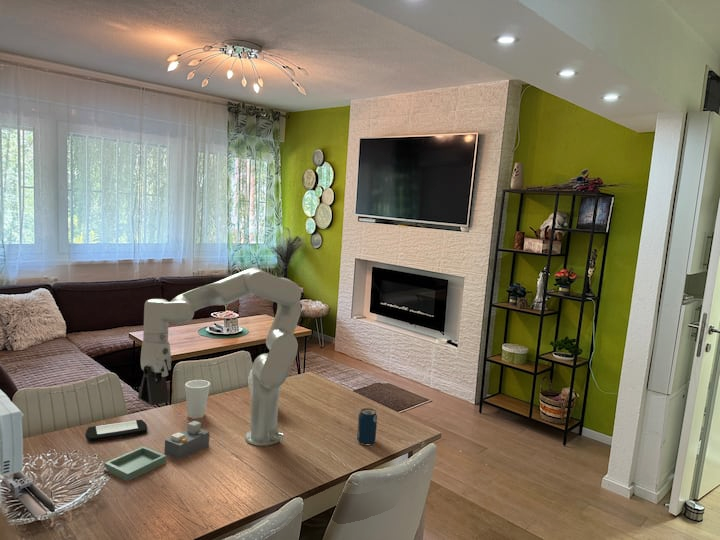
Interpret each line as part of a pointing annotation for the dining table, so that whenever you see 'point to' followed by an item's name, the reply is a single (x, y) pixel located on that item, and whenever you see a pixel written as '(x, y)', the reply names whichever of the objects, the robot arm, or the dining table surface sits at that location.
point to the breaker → (194, 427)
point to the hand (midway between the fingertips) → (153, 390)
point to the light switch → (116, 430)
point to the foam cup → (197, 397)
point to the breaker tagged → (177, 437)
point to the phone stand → (153, 389)
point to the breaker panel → (187, 444)
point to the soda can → (367, 426)
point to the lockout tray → (135, 463)
